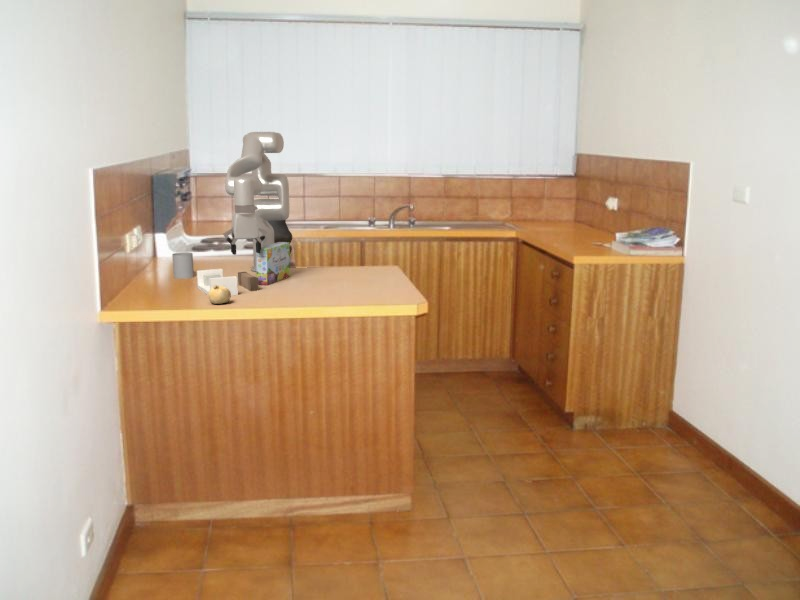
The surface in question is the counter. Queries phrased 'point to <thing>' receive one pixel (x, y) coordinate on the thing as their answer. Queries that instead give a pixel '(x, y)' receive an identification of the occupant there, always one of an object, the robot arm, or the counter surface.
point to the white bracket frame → (215, 280)
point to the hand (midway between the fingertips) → (246, 253)
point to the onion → (219, 294)
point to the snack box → (273, 263)
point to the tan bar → (248, 281)
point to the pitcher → (281, 231)
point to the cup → (183, 265)
